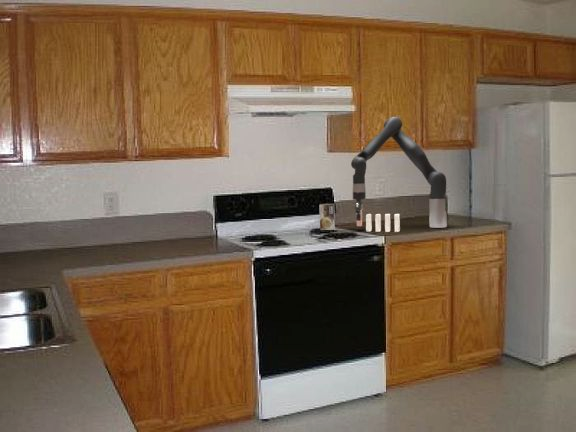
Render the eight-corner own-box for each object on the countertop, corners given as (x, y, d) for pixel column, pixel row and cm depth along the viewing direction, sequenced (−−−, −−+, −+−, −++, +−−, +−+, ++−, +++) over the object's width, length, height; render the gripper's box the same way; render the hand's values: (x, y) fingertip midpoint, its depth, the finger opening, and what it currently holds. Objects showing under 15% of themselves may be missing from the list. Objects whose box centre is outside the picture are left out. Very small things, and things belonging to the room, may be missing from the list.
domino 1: (362, 225, 359) (362, 208, 358) (360, 226, 354) (360, 209, 353) (358, 225, 359) (358, 208, 359) (356, 226, 355) (356, 209, 354)
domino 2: (371, 230, 357) (371, 214, 357) (370, 231, 353) (370, 214, 352) (367, 230, 358) (367, 214, 357) (366, 231, 353) (365, 214, 353)
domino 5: (399, 231, 352) (399, 213, 352) (398, 231, 348) (398, 214, 347) (395, 231, 353) (395, 214, 352) (394, 231, 348) (394, 214, 348)
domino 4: (390, 231, 354) (390, 214, 353) (389, 231, 349) (389, 214, 349) (386, 231, 355) (386, 214, 354) (385, 231, 350) (384, 214, 349)
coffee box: (335, 229, 371) (334, 203, 370) (334, 230, 364) (334, 204, 363) (320, 230, 372) (319, 203, 370) (319, 231, 365) (319, 204, 364)
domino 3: (380, 231, 356) (380, 214, 355) (379, 231, 351) (379, 214, 350) (376, 231, 356) (376, 214, 356) (375, 231, 352) (375, 214, 351)
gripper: (355, 191, 363) (355, 219, 364) (350, 192, 349) (350, 221, 351) (367, 190, 361) (367, 219, 362) (363, 191, 347) (363, 221, 348)
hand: (359, 220), depth 356 cm, fingers closed on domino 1, 5 cm apart
